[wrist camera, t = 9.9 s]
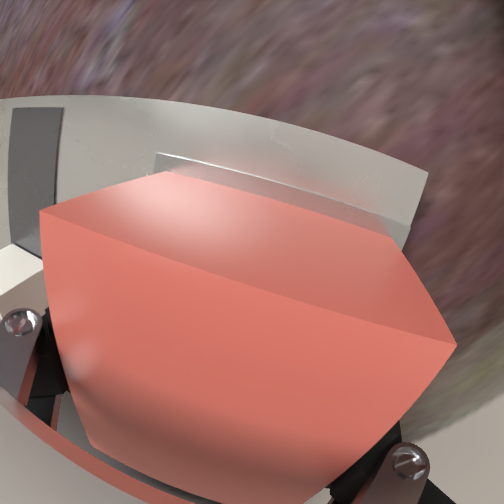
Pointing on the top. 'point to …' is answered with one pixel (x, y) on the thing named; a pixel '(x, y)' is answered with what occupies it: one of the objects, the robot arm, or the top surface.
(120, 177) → the panel
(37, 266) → the block
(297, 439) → the lockout cap
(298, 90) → the top surface
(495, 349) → the top surface
